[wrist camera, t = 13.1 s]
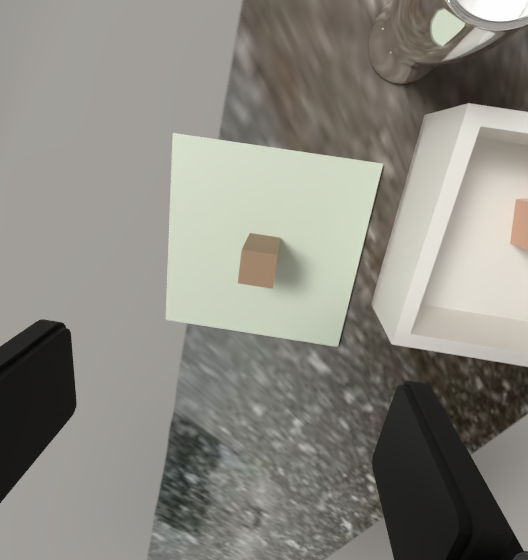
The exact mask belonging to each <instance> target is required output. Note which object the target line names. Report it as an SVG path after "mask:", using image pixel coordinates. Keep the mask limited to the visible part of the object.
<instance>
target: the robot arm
mask: <svg viewBox="0 0 528 560" xmlns="http://www.w3.org/2000/svg"><path fill="white" fill-rule="evenodd" d="M75 408H76V392H75V380H74V367H73V356H72V343H71V333H70V330H69V329H66V327H65V325H64V324H63V323H61V322H55V321H49V320H39V321H37V322H35V323H34V324H33V325H31V326H30V327H28V328H27V329H25V330H24V331H22V332H21V333H19V334H18V335H16V336H15V337H14V338H12V339H11V340H9V341H8V342H6V343H5V344H3V345H2V346H0V503H1V501H2V500H3V499H4V498H5V497H6V495H7V494H8V493H9V492H10V490H11V489H12V488H13V487H14V485H15V484H16V483H17V482H18V481H19V479H20V478H21V477H22V476H23V475H24V473H25V472H26V471H27V470H28V469H29V467H30V466H31V465H32V464H33V463H34V461H35V460H36V459H37V458H38V456H39V455H40V454H41V453H42V452H43V450H44V449H45V448H46V447H47V445H48V444H49V443H50V442H51V441H52V440H53V438H54V437H55V436H56V435H57V434H58V432H59V431H60V430H61V429H62V427H63V426H64V425H65V424H66V423H67V421H68V420H69V419H70V417H71V416H72V415H73V413H74V411H75ZM372 465H373V472H374V476H375V480H376V484H377V489H378V493H379V497H380V501H381V506H382V510H383V514H384V518H385V523H386V527H387V531H388V535H389V539H390V544H391V548H392V552H393V557H394V560H528V551H523V549H522V547H521V545H520V544H519V542H518V540H517V538H516V536H515V535H514V533H513V531H512V529H511V527H510V526H509V524H508V522H507V520H506V518H505V517H504V515H503V513H502V511H501V509H500V508H499V506H498V504H497V502H496V500H495V499H494V497H493V495H492V493H491V492H490V490H489V488H488V486H487V484H486V483H485V481H484V479H483V477H482V475H481V474H480V472H479V470H478V468H477V466H476V465H475V463H474V461H473V459H472V458H471V456H470V454H469V452H468V450H467V449H466V447H465V446H464V444H463V443H462V442H461V440H460V438H459V436H458V434H457V433H456V431H455V429H454V427H453V425H452V424H451V422H450V420H449V418H448V416H447V415H446V413H445V411H444V409H443V407H442V406H441V404H440V402H439V400H438V398H437V397H436V395H435V393H434V391H433V389H432V388H431V386H430V385H429V384H425V383H419V382H413V381H406V382H405V383H404V385H398V386H397V388H396V391H395V394H394V397H393V400H392V403H391V405H390V408H389V411H388V414H387V417H386V420H385V423H384V426H383V428H382V431H381V434H380V437H379V440H378V443H377V446H376V449H375V452H374V455H373V461H372Z"/></svg>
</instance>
